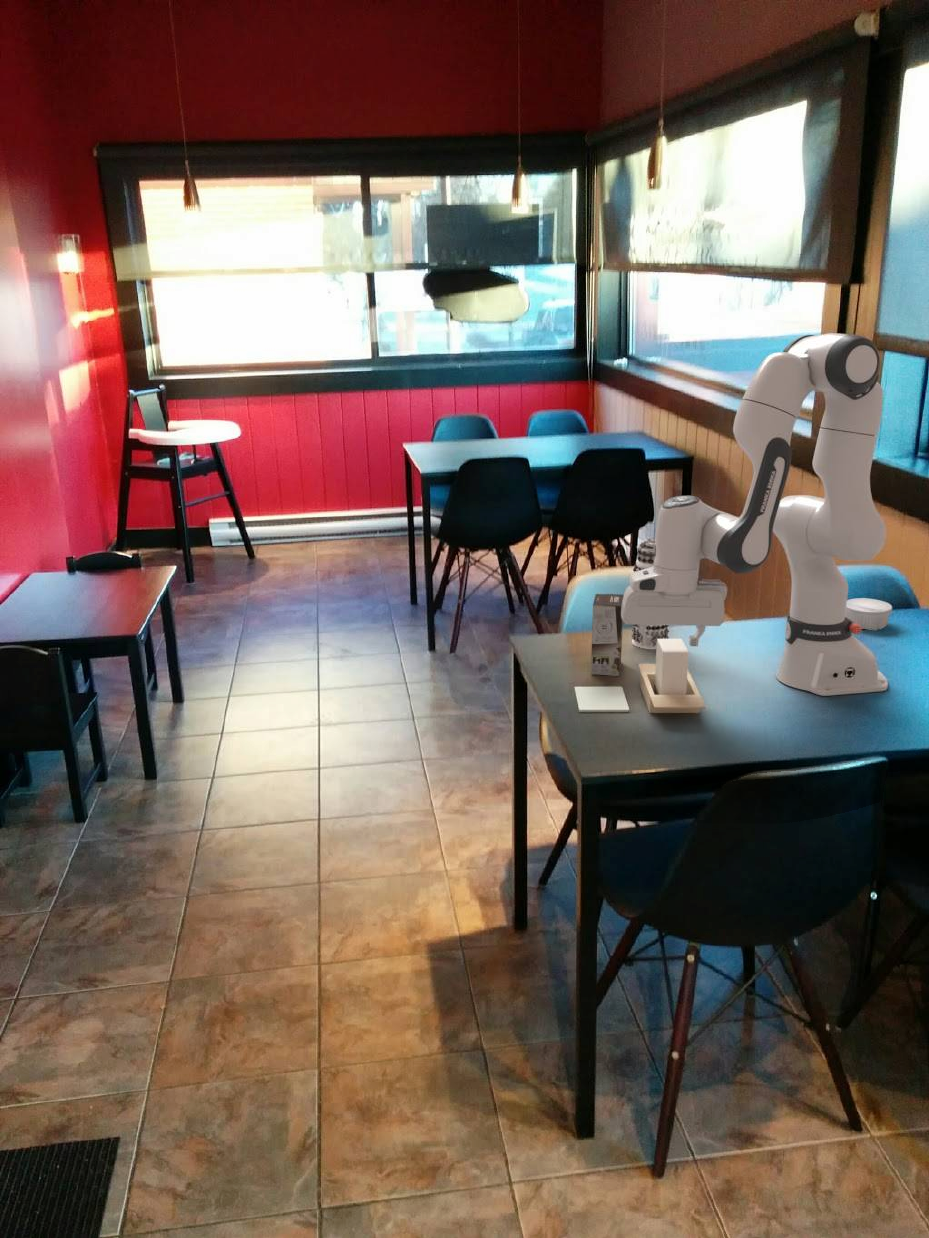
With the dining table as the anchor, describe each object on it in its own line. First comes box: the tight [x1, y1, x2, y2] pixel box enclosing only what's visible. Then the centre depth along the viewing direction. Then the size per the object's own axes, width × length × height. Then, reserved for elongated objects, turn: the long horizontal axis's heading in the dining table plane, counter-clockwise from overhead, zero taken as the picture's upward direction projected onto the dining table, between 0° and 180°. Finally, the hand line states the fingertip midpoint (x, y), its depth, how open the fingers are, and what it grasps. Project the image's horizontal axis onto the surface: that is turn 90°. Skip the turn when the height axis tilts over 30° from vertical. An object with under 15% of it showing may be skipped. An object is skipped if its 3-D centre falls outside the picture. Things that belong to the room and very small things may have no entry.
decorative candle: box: [631, 538, 670, 650], centre depth 233 cm, size 9×9×25 cm
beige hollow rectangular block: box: [637, 663, 707, 714], centre depth 205 cm, size 10×23×4 cm, turn 179°
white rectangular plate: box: [573, 686, 630, 713], centre depth 206 cm, size 10×12×1 cm
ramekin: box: [845, 597, 893, 631], centre depth 247 cm, size 11×11×5 cm
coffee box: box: [590, 593, 624, 677], centre depth 220 cm, size 9×6×16 cm
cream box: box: [653, 638, 690, 695], centre depth 203 cm, size 5×8×12 cm, turn 179°
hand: (669, 644), depth 201 cm, fingers open, 8 cm apart
